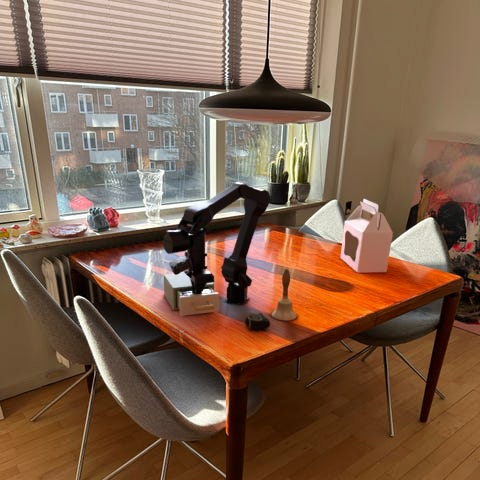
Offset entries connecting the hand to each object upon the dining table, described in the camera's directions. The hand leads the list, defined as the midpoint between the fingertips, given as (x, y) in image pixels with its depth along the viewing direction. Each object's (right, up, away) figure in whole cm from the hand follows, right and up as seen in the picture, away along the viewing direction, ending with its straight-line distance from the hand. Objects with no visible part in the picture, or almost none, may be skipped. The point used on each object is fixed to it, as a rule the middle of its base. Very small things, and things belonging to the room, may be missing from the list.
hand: (196, 295), depth 149 cm
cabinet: (-4, -1, +11) cm, 12 cm away
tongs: (0, -1, 0) cm, 1 cm away
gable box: (+69, +16, +56) cm, 90 cm away
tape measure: (+20, -10, -7) cm, 23 cm away
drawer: (0, -4, +2) cm, 5 cm away
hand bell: (+29, -7, +1) cm, 30 cm away
